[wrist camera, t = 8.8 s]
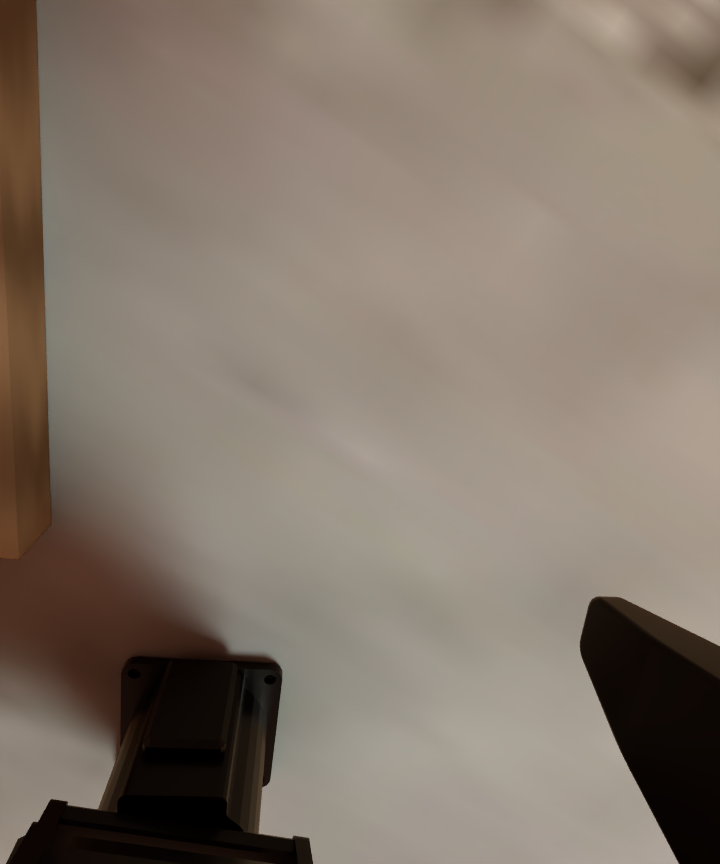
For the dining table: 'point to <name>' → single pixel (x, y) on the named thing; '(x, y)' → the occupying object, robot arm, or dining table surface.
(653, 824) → the dining table surface
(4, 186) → the brown square tray
